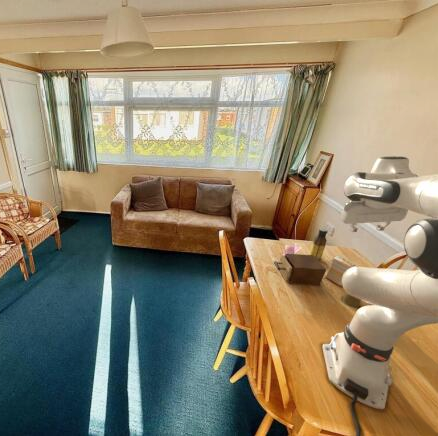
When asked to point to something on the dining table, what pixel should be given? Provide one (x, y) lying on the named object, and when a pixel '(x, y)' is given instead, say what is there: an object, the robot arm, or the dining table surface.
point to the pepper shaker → (351, 300)
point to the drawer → (284, 267)
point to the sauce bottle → (319, 244)
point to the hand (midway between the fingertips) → (366, 230)
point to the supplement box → (338, 269)
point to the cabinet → (306, 269)
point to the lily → (291, 249)
